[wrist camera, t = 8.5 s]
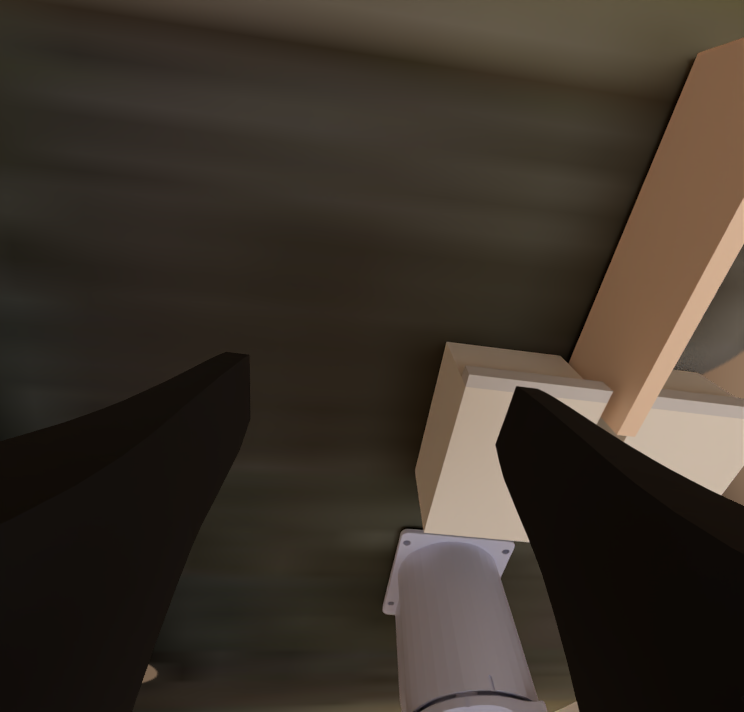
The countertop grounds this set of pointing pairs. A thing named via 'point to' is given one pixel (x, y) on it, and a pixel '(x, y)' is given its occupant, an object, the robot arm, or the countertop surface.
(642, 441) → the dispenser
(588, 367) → the thin wooden plank
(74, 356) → the countertop surface
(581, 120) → the countertop surface
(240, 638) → the countertop surface
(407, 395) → the countertop surface
